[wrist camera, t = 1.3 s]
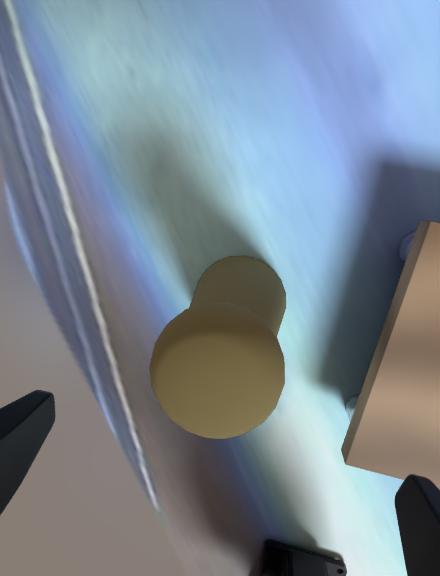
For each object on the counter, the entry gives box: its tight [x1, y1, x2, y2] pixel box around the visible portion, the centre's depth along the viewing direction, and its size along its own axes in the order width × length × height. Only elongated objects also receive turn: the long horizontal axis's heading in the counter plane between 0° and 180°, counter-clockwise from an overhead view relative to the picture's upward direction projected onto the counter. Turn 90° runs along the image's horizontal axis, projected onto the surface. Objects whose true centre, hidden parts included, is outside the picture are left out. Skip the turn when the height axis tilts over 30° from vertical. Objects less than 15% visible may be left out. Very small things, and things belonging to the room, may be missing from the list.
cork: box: [150, 256, 286, 439], centre depth 16 cm, size 6×6×11 cm
